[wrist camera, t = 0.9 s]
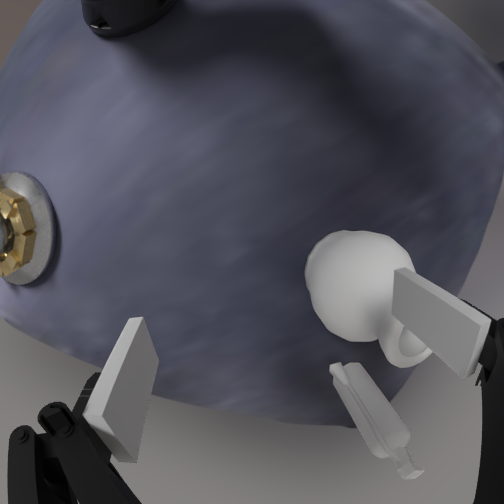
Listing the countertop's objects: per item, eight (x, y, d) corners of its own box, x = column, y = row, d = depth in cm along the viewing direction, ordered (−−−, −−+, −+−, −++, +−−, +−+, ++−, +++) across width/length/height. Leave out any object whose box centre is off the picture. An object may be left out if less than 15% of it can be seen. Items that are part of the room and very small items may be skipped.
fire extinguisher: (344, 344, 45) (419, 455, 21) (373, 373, 48) (437, 465, 24) (314, 369, 45) (371, 487, 22) (347, 394, 49) (399, 491, 25)
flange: (-24, 202, 30) (-56, 209, 22) (36, 151, 31) (1, 148, 22) (9, 293, 35) (-20, 313, 27) (73, 259, 36) (43, 279, 27)
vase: (297, 223, 39) (369, 266, 19) (384, 221, 40) (481, 255, 21) (294, 316, 42) (344, 407, 23) (375, 306, 44) (449, 372, 24)
